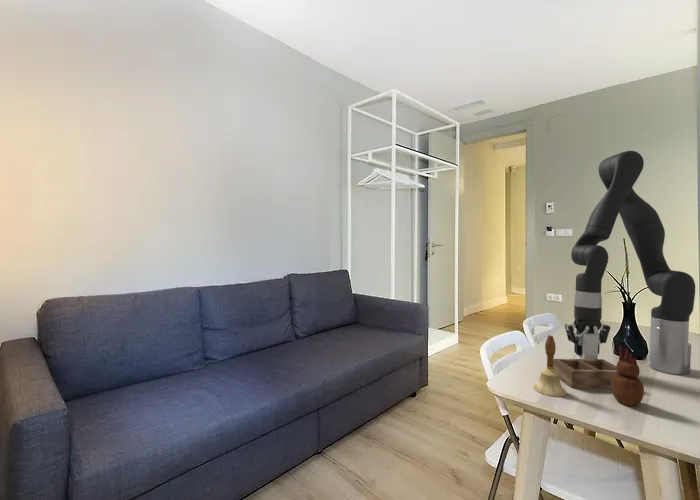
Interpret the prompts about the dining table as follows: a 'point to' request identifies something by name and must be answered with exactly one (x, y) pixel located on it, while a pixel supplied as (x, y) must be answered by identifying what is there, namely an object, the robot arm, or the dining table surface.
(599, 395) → the dining table surface
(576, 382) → the walnut rail
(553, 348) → the hand bell
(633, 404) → the wooden figurine
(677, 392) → the dining table surface
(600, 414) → the dining table surface
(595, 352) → the skincare box
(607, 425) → the dining table surface
